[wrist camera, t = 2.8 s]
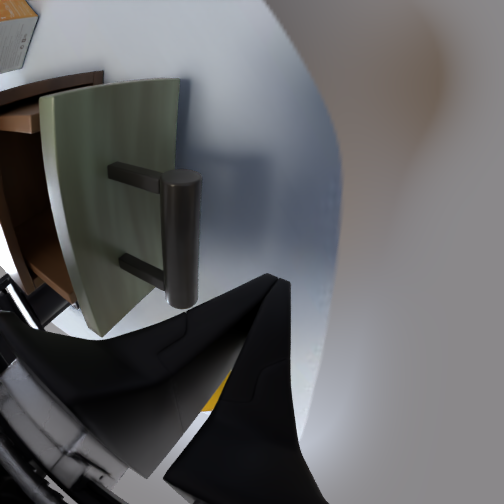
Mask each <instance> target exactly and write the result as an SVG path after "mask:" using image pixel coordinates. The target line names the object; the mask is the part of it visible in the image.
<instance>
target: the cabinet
mask: <svg viewBox="0 0 504 504" xmlns="http://www.w3.org/2000/svg"><path fill="white" fill-rule="evenodd" d="M100 84H103V70H102V71H94V72H86V73H80V74H73V75H67V76H62V77H56V78H51V79H47V80H42V81H38V82H34V83H29V84H26V85H22V86H18V87H14V88H11V89H8V90H4V91H1V92H0V109H2V108H5V107H8V106H11V105H14V104H17V103H20V102H24V101H27V100H31V99H34V98H38V97H41V96H45V95H50V94H54V93H58V92H63V91H67V90H72V89H77V88H82V87H88V86H94V85H100ZM0 265H1V266H2V267H3V268H4V270H5V271H6V272H7V273H8V274H9V275H10V277H11V278H12V279H13V280H14V281H15V282H16V283H17V284H18V286H19V287H20V288H21V289H22V290H23V291H24V292H25V293H26V294H27V295H29V294H31V293H32V292H33V291H35V288H36V289H37V288H38V287H40V286H41V285H42V284H43V283H45V282H44V281H43V280H42V279H41V278H40V277H39V276H38V275H37V274H35V273H34V272H33V271H32V270H31V269H30V268H29V267H28V266H27V265H26V263H25V261H24V258H23V255H22V252H21V249H20V246H19V243H18V240H17V237H16V234H15V230H14V227H13V223H12V220H11V216H10V213H9V209H8V205H7V201H6V196H5V192H4V187H3V183H2V178H1V172H0Z"/></svg>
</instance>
